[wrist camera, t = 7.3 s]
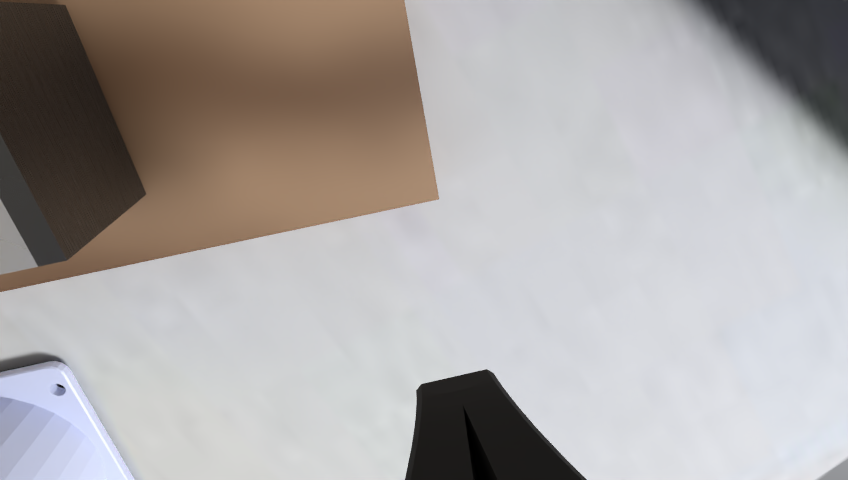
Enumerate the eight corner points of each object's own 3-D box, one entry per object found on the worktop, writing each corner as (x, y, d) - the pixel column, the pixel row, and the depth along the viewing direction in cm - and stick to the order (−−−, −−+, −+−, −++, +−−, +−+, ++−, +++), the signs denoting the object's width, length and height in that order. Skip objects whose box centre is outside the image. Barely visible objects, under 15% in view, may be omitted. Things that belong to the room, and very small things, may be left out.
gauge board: (432, 185, 17) (467, 260, 12) (-104, 297, 17) (-327, 432, 11) (374, -138, 14) (387, -244, 8) (-323, -10, 13) (-819, -31, 7)
